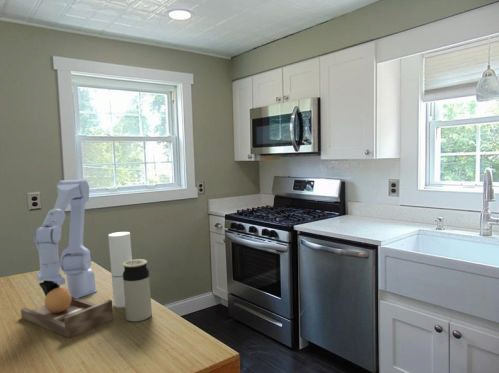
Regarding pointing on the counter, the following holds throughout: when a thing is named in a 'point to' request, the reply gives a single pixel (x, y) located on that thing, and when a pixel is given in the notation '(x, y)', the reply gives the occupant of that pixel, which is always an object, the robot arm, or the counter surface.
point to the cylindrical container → (119, 263)
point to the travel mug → (137, 290)
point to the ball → (58, 300)
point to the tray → (71, 317)
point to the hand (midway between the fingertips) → (52, 302)
